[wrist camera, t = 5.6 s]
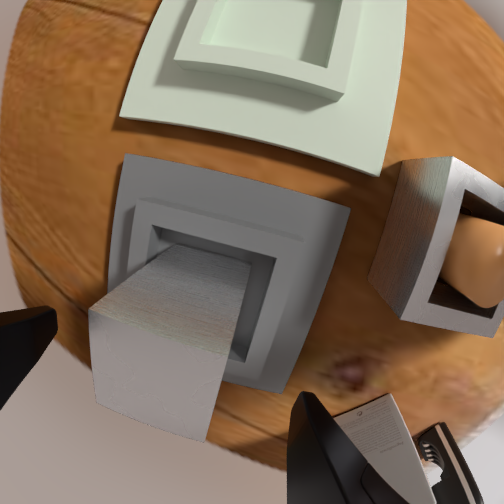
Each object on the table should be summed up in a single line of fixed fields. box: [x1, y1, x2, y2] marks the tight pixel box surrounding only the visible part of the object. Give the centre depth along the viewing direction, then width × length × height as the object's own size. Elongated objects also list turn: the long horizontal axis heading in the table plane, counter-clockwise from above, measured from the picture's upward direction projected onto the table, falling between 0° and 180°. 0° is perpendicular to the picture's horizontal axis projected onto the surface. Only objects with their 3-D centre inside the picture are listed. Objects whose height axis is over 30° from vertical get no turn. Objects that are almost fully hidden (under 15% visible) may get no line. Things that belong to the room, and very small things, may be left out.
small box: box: [333, 394, 437, 504], centre depth 13 cm, size 8×6×10 cm
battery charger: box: [418, 422, 484, 504], centre depth 13 cm, size 7×4×11 cm, turn 33°
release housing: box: [367, 156, 504, 338], centre depth 12 cm, size 7×7×5 cm
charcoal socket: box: [107, 153, 351, 394], centre depth 15 cm, size 12×12×2 cm
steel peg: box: [88, 243, 252, 443], centre depth 11 cm, size 4×4×8 cm
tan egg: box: [438, 213, 504, 308], centre depth 11 cm, size 4×4×5 cm
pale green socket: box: [119, 0, 407, 177], centre depth 11 cm, size 14×14×2 cm
